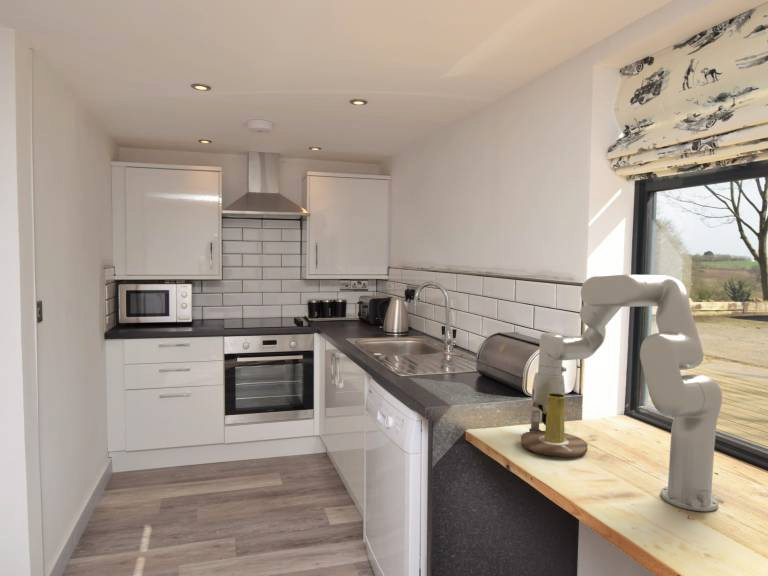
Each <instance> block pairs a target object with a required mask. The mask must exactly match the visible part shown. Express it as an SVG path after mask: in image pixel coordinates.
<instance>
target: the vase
mask: <svg viewBox="0 0 768 576" xmlns="http://www.w3.org/2000/svg"><path fill="white" fill-rule="evenodd" d="M546 408H547V416H546V426H545V430H544V431H545V437H544V439H545V440H546V441H548V442H552V443H562V442H564V441H565V439H564V433H565V414H566V413H565V410H566V394H565V395H563V394H558V393H549V394H548V404H547V405H546Z"/></svg>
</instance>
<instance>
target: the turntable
mask: <svg viewBox="0 0 768 576" xmlns="http://www.w3.org/2000/svg"><path fill="white" fill-rule="evenodd" d="M540 413H541V412H540V410H531V419H530V428H529V429H528V430H529V431H526V432H524V433H523V434H521V435H520V445H521V446H522V447H524V448H525V449H526V450H529V451H532V452H534V453H537V454H542V455H545V456H550V457H552V456H553V457H559V458H560V457H561V458H562V457H563V458H570V457H579V456H583V455H584V454H586V453H588V446H589V445H588V443H587V441H585V439H583V438H581V437H578V436H576V435H573V434H569V433H566V432H564V439H565V441H564V442H562V443H552V442H548V441H546V440H545V439H544V437H545V430H541V429H540V420H541V419H540V415H541V414H540Z"/></svg>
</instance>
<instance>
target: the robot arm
mask: <svg viewBox="0 0 768 576" xmlns="http://www.w3.org/2000/svg"><path fill="white" fill-rule="evenodd" d="M580 298H581V300H582V302H583V303H584V304H583V306H582V307H581V309H580V310H579V318H580V319H581V321H582V322H583V324H585V325H586V326H587V328H586V330H585V331H584V332H583V333H582V334H581V335H570V336H569V335H567V336H563V334H561V333H557V332H544V333H541V334H540V337H539V350H538V351H539V352H538V366H537V370H538V371H537V372H535V374H534V377H533V381H532V387H531V400H532V401H531V406H532V408H533V407H534V408H537V409H538V410H539V411H541V422H542V424H544V426H545V427H546V416H547V404H548V394H549V393H558V394H563V395H565V396H566V384H565V377H564V374H563V373H564V372H565V373H566V372H567V367H564V366H563V361H573V360H574V361H575V360H584V359H585V360H586V359H589V358H590V357H592V356H593V355H594V354H595V353H596V352H597V351H598V350H599V348H600V347H601V346H602V345H603V344H604V342H605V340H606V339H605V337H606V332H607V330H606V325H608V324H609V323H610V321H611V320H612V319H613V318H614V316H615V315H616V314H617V313H618V312H619V311H620V310H621V308H623V307H624V308H625V307H626V308H627V307H629V308H631V307H657V308H656V312H655V323H656V326H657V329H658V332H657V333H656V332H655V333H652V334H650V335H648V336H647V337H645V338H644V340H643V341H642V343H641V346H640V350H639V359H640V363H641V367H642V368H641V369H642V371H643V375H644V378H645V382H646V387H647V390H648V394H649V397H650V400H651V403H652V405H653V407H654V408H655V409H656V411H657V412H659V414H661V415H662V416H665V417H669V418H673V420H672V423H671V429H670V430H671V432H670V445H669V446H670V447H669V462H668V477H667V478H668V480H667V486H664V487H662V488H661V489H660V497H661V498H662V499H663V500H664V501H665V502H667V503H668V504H671V505H673V506H675V507H677V508H681V509H686V510H688V511H695V512H712V511H715V510H717V509H718V508H719V501H718V500H717V498H716V497H714V496H713V495H712V491H713V490H712V487H713V472H714V458H715V446H716V445H715V444H716V434H717V433H716V432H717V424H718V418H719V415H720V411H721V407H722V405H723V394H722V389H721V386H720V385H719V384H718V382H717V381H715V380H714V379H713V378H712V377H710V376H707V375H704V374H696V373H695V374H685V375H682V374H681V373H682V372H681V371H685V370H686V371H687V370H692V369H695V368H697V367H699V366H700V365H701V364H702V362H703V361H704V351H703V347H702V342H701V340H700V336H699V333H698V329H697V326H696V322H695V319H694V315H693V312H692V308H691V303H690V298H689V293H688V291H687V289H686V286H685V285H684V284H683V283H682V282H681V281H680V280H679V279H677V278H675V277H672V276H669V275H662V274H617V275H603V276H600V275H599V276H598V275H597V276H596V275H595V276H591V277H590V278H588V279H586V280H585V281H584V283H582V285H581V288H580Z"/></svg>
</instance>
